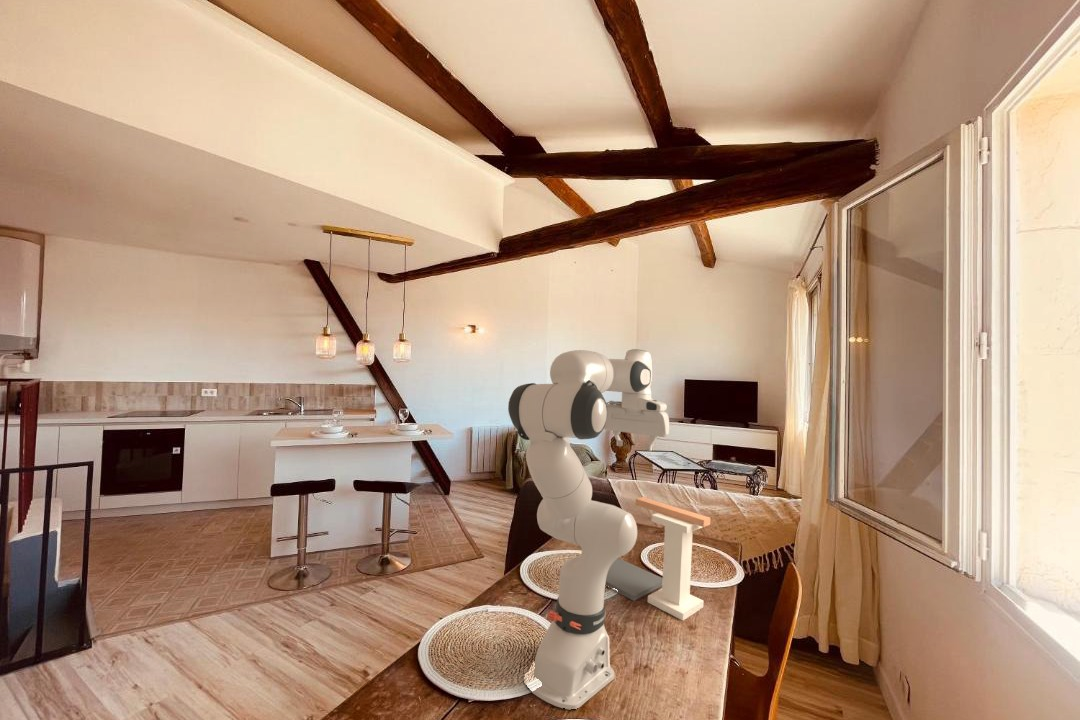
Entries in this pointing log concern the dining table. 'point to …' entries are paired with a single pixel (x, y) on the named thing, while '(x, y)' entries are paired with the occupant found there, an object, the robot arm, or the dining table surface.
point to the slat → (674, 511)
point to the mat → (631, 580)
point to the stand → (676, 569)
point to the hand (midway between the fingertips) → (634, 448)
